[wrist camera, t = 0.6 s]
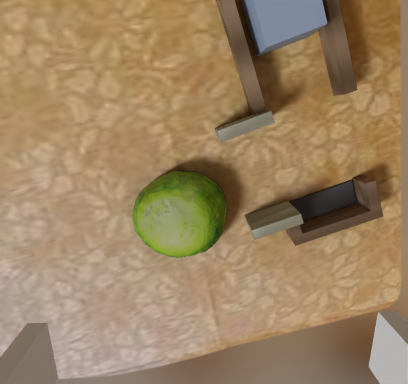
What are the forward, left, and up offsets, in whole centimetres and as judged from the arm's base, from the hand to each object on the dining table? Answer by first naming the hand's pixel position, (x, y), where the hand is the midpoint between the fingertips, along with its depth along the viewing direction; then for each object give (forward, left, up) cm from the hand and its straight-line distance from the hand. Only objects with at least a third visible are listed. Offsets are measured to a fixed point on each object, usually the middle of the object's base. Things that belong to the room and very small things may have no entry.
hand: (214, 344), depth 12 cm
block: (-15, +14, -26) cm, 33 cm away
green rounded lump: (+2, -4, -26) cm, 26 cm away
